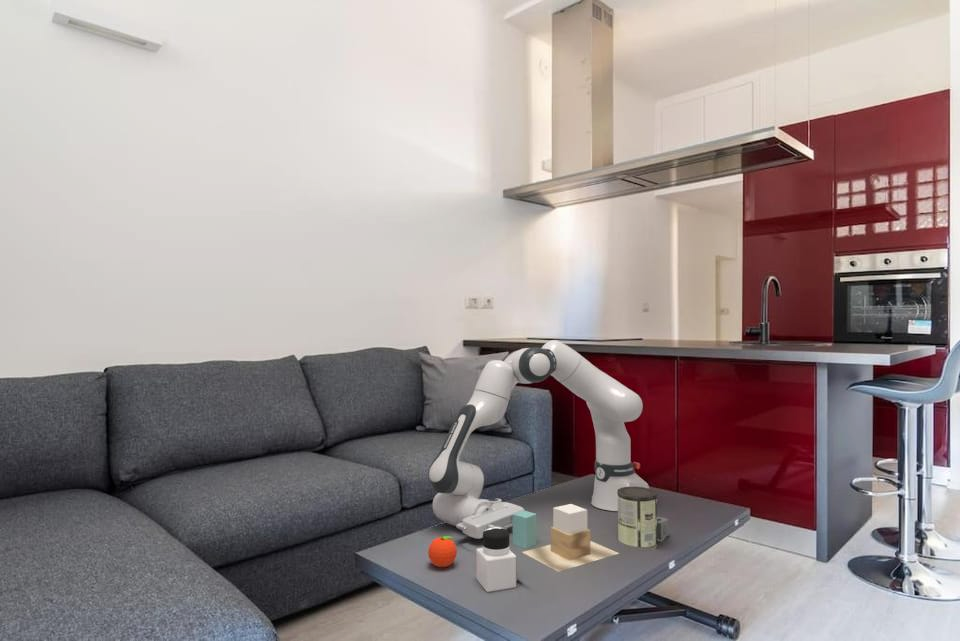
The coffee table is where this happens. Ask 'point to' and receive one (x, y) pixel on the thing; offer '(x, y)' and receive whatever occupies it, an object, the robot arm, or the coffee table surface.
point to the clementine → (442, 551)
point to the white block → (570, 519)
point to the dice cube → (662, 528)
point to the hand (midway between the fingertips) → (516, 527)
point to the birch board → (561, 563)
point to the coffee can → (637, 516)
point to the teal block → (524, 529)
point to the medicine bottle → (496, 561)
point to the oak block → (570, 544)
